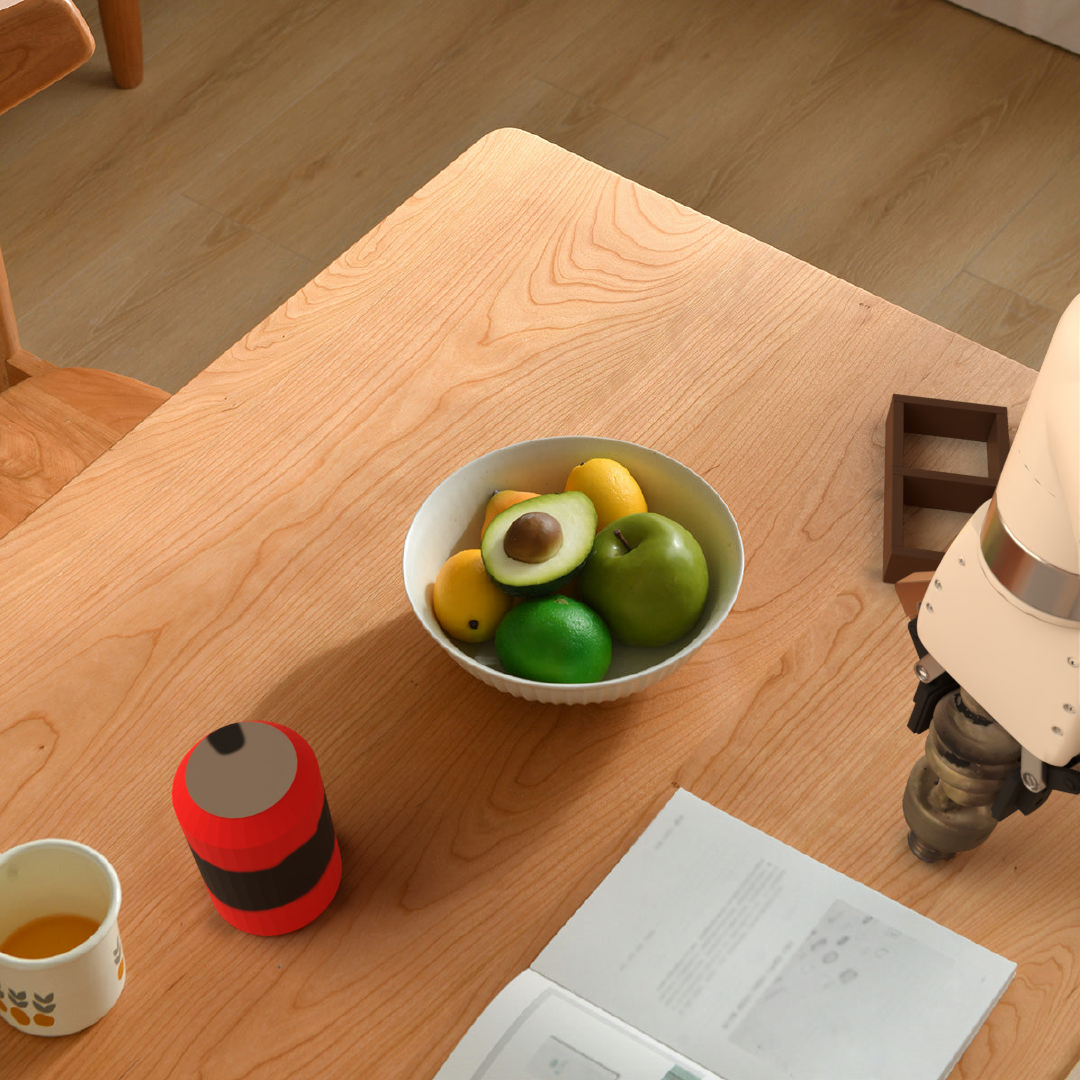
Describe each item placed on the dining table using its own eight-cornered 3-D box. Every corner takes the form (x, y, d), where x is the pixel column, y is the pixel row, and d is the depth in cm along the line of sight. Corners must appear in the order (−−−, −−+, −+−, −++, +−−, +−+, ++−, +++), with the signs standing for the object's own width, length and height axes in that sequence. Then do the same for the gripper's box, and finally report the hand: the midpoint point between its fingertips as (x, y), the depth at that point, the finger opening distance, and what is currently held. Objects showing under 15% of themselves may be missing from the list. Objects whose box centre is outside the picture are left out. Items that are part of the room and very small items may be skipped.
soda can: (309, 796, 81) (279, 683, 72) (365, 897, 77) (341, 790, 68) (190, 856, 79) (144, 746, 70) (241, 963, 75) (199, 862, 65)
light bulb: (910, 789, 82) (970, 642, 70) (995, 836, 80) (1072, 693, 68) (867, 859, 79) (923, 717, 67) (955, 910, 77) (1028, 773, 65)
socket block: (1006, 598, 91) (1018, 570, 89) (882, 582, 92) (890, 554, 90) (996, 435, 101) (1007, 406, 99) (885, 422, 102) (893, 393, 100)
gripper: (1300, 637, 54) (1147, 850, 68) (993, 390, 64) (913, 621, 78) (1174, 723, 52) (1041, 926, 66) (872, 452, 61) (812, 679, 75)
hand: (973, 759), depth 72 cm, fingers closed on light bulb, 5 cm apart
